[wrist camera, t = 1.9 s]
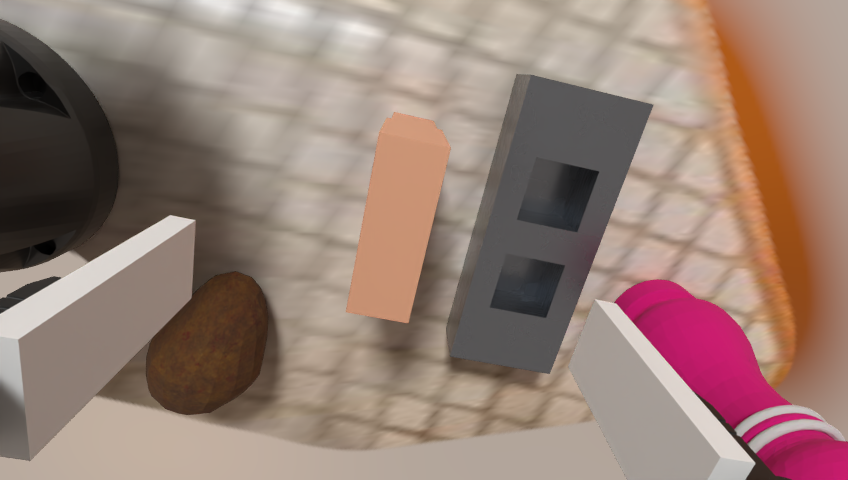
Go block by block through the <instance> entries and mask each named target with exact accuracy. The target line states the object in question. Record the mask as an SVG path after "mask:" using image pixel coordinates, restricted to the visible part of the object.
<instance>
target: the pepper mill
mask: <svg viewBox="0 0 848 480" xmlns="http://www.w3.org/2000/svg"><path fill="white" fill-rule="evenodd" d="M615 303H616V304H617V305H618V306H619V307H620V309H621V310H622V311H623V312H624V313H625V314H626V315H627V317H628V318H629V319H630V320H631V321H632V322H633V323H634V325H635V326H636V327H637V328H638V329H639V330H640V331H641V333H642V334H643V335H644V336H645V337H646V338H647V339H648V341H649V342H650V343H651V344H652V345H653V346H654V348H655V349H656V350H657V351H658V352H659V353H660V354H661V356H662V357H663V358H664V359H665V360H666V361H667V362H668V364H669V365H670V366H671V367H672V368H673V369H674V370H675V372H676V373H677V374H678V375H679V376H680V377H681V378H682V380H683V381H684V382H685V383H686V384H687V385H688V386H689V388H690V389H691V390H692V391H694V392H696V393H697V394H698V395H700V396H701V397H702V398H703V399H705V400H706V401H707V402H709V403H710V404H711V405H713V407H714V408H715V409H716V410H717V411H718V412H719V413H720V414H721V416H722V417H723V418H724V419H725V420H726V423H729V424H730V426H731V427H732V428H733V429H734V430H735V431H736V432H737V436H740V437H741V438H742V439H743V440H744V441H745V442H746V443H747V445H748V446H749V447H750V448H751V449H752V450H753V451H754V452H755V453H756V455H757V456H758V457H759V458H760V459H761V460H762V461H763V462H764V464H765V465H766V466H767V467H768V468H769V469H770V470H771V471H772V472H773V474H774V475H775V476H781V477H785V478H789V479H792V480H848V442H847V441H846V440H845V439H844V437H843V435H842V434H841V433H840V432H839V431H838V430H837V429H836V428H834V427H833V426H831V425H830V424H827V423H826V421H825V420H824V419H823V417H822V416H821V415H819V414H818V413H816V412H815V411H813V410H811V409H809V408H806V407H802V406H796V405H792V404H791V403H789V402H788V401H786V400H785V399H783V398H782V397H781V396H780V395H779V394H778V393H777V392H776V391H775V390H774V389H773V388H772V387H771V386H770V385H769V384H768V383H767V381H766V380H765V378H764V377H763V375H762V373H761V371H760V369H759V366H758V363H757V360H756V358H755V355H754V352H753V349H752V347H751V344H750V342H749V340H748V339H747V337H746V335H745V334H744V332H743V330H742V329H741V327H740V326H739V325H738V324H737V323H736V322H735V320H734V319H732V318H731V317H730V316H729V315H728V314H727V313H726V312H725V311H724V310H723V309H721V308H720V307H718V306H717V305H715V304H713V303H711V302H708V301H705V300H701V299H696V298H695V297H694V296H692V295H691V294H690V293H689V292H688V291H686V290H685V289H684V288H683V287H681V286H680V285H678V284H676V283H674V282H671V281H667V280H649V281H644V282H642V283H639V284H637V285H634V286H633V287H631V288H629V289H628V290H626V291H625V292H624V293H623V294H622V295H621V296H620V297H619V298H618V299H617V300H616V301H615Z"/></svg>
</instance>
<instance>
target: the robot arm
mask: <svg viewBox="0 0 848 480" xmlns="http://www.w3.org/2000/svg"><path fill="white" fill-rule="evenodd" d="M117 186H118V158H117V152H116V147H115V142H114V139H113V135H112V132H111V130H110V127H109V124H108V122H107V120H106V117H105V115H104V113H103V111H102V109H101V107H100V105H99V104H98V102H97V100H96V99H95V97H94V96H93V94H92V93H91V91H90V90H89V88H88V87H87V85H86V84H85V83H84V82H83V80H82V79H81V78H80V77H79V75H78V74H77V73H76V72H75V71H74V70H73V69H72V68H71V67H70V66H69V65H68V63H67V62H66V61H64V60H63V59H62V58H61V57H60V56H59V55H58V54H57V53H56V52H54V51H53V50H52V49H51V48H50V47H48V46H47V45H46V44H44V43H43V42H42V41H40V40H39V39H37V38H36V37H34V36H33V35H31V34H30V33H28V32H26V31H24V30H23V29H21V28H19V27H17V26H15V25H13V24H11V23H9V22H7V21H4V20H2V19H0V272H6V271H13V270H20V269H25V268H29V267H33V266H36V265H39V264H42V263H44V262H47V261H50V260H51V259H54V258H56V257H58V256H60V255H62V254H64V253H66V252H67V251H69V250H71V249H73V248H75V247H77V246H79V245H80V244H82V243H83V242H85V241H86V240H88V239H89V238H90V237H91V236H92V235H93V234H94V233H95V232H96V231H97V230H98V229H99V228H100V227H101V225H102V224H103V223H104V221H105V220H106V218H107V216H108V214H109V212H110V211H111V208H112V206H113V203H114V200H115V196H116V192H117ZM195 225H196V220H192V219H187V218H182V217H177V216H172V215H170V216H168V217H166V218H165V219H163V220H161V221H159V222H158V223H156V224H154V225H153V226H151V227H149V228H147V229H146V230H144V231H142V232H140V233H139V234H137V235H135V236H134V237H132V238H130V239H128V240H127V241H125V242H123V243H122V244H120V245H118V246H116V247H115V248H113V249H111V250H109V251H108V252H106V253H104V254H103V255H101V256H99V257H97V258H96V259H94V260H92V261H90V262H89V263H87V264H85V265H84V266H82V267H80V268H79V269H77V270H75V271H73V272H72V273H70V274H68V275H66V276H65V277H63V278H60V277H50V278H47V279H43V280H40V281H36V282H33V283H30V284H27V285H25V286H23V287H21V288H19V289H18V290H16V291H14V292H12V293H10V294H8V295H7V297H6V298H1V299H0V456H1V457H8V458H15V459H22V460H29V461H31V459H33V458H34V456H35V455H36V454H37V453H38V452H39V451H40V450H41V449H42V448H43V447H44V446H45V445H46V444H47V443H48V442H49V441H50V440H51V439H52V438H53V437H54V436H55V435H56V434H57V433H58V432H59V431H60V430H61V429H62V428H63V427H64V426H65V425H66V424H67V423H68V422H69V421H70V420H71V419H72V418H73V417H74V416H75V415H76V414H77V413H78V412H79V411H80V410H81V409H82V408H83V407H84V406H85V405H86V404H87V403H88V402H89V401H90V400H91V399H92V398H93V397H94V396H95V395H96V394H97V393H98V392H99V391H100V390H101V389H102V388H103V387H104V386H105V385H106V384H107V383H108V382H109V381H110V380H111V379H112V378H113V377H114V376H115V375H116V374H117V373H118V372H119V371H120V370H121V369H122V368H123V367H124V366H125V365H126V364H127V363H128V362H129V361H130V360H131V359H132V358H133V357H134V356H135V355H136V354H137V353H138V352H139V351H140V350H141V349H142V348H143V347H144V346H145V345H146V344H147V343H148V342H149V341H150V340H151V339H152V338H153V337H154V336H155V335H156V334H157V333H158V332H159V331H160V330H161V329H162V328H163V326H164V325H165V324H166V323H167V322H168V321H169V320H170V319H171V318H172V317H173V316H174V315H175V314H176V313H177V312H178V311H179V310H180V309H181V308H182V307H183V306H184V305H185V304H186V303H187V302H188V301H189V300H190V299H191V298H192V283H193V263H194V244H195ZM568 367H569V369H570V371H571V373H572V375H573V377H574V379H575V381H576V383H577V385H578V387H579V389H580V390H581V392H582V394H583V396H584V398H585V400H586V402H587V404H588V406H589V408H590V410H591V412H592V413H593V415H594V417H595V419H596V421H597V423H598V425H599V427H600V429H601V431H602V432H603V434H604V436H605V438H606V440H607V442H608V444H609V446H610V448H611V450H612V452H613V454H614V456H615V457H616V459H617V461H618V463H619V465H620V467H621V469H622V471H623V473H624V475H625V476H626V479H627V480H792V479H789V478H785V477H781V476H775V475H774V474H773V472H772V471H771V470H770V469H769V468H768V467H767V466H766V465H765V464H764V462H763V461H762V460H761V459H760V458H759V457H758V456H757V455H756V453H755V452H754V451H753V450H752V449H751V448H750V447H749V446H748V445H747V443H746V442H745V441H744V440H743V439H742V438H741V437H740V436H737V432H736V431H735V430H734V429H733V428H732V427H731V426H730V424H729V423H726V420H725V419H724V418H723V417H722V416H721V414H720V413H719V412H718V411H717V410H716V409H715V408H714V407H713V405H711V404H710V403H709V402H707V401H706V400H705V399H703V398H702V397H701V396H700V395H698V394H697V393H696V392H694V391H692V390H691V389H690V388H689V386H688V385H687V384H686V383H685V382H684V381H683V380H682V378H681V377H680V376H679V375H678V374H677V373H676V372H675V370H674V369H673V368H672V367H671V366H670V365H669V364H668V362H667V361H666V360H665V359H664V358H663V357H662V356H661V354H660V353H659V352H658V351H657V350H656V349H655V348H654V346H653V345H652V344H651V343H650V342H649V341H648V339H647V338H646V337H645V336H644V335H643V334H642V333H641V331H640V330H639V329H638V328H637V327H636V326H635V325H634V323H633V322H632V321H631V320H630V319H629V318H628V317H627V315H626V314H625V313H624V312H623V311H622V310H621V309H620V307H619V306H618V305H617V304H616V303H611V302H606V301H601V300H596V299H595V300H594V303H593V305H592V308H591V310H590V313H589V315H588V318H587V320H586V323H585V325H584V328H583V330H582V333H581V335H580V338H579V340H578V343H577V345H576V348H575V350H574V353H573V355H572V358H571V361H570V363H569V366H568Z"/></svg>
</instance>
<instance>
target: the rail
mask: <svg viewBox="0 0 848 480" xmlns="http://www.w3.org/2000/svg"><path fill="white" fill-rule="evenodd" d="M652 107H653V105H652V104H648V103H644V102H640V101H636V100H632V99H628V98H624V97H619V96H615V95H611V94H607V93H603V92H599V91H595V90H591V89H587V88H583V87H579V86H575V85H571V84H566V83H562V82H558V81H554V80H550V79H546V78H542V77H538V76H534V75H522V74H517V75H516V78H515V82H514V86H513V89H512V93H511V96H510V100H509V104H508V107H507V111H506V114H505V118H504V122H503V125H502V129H501V132H500V136H499V140H498V143H497V147H496V150H495V154H494V158H493V161H492V165H491V168H490V172H489V176H488V179H487V183H486V186H485V190H484V194H483V197H482V201H481V204H480V208H479V212H478V215H477V219H476V222H475V226H474V230H473V233H472V237H471V240H470V244H469V248H468V251H467V255H466V258H465V262H464V266H463V269H462V273H461V276H460V280H459V284H458V287H457V291H456V294H455V298H454V302H453V305H452V309H451V312H450V316H449V320H448V323H447V327H446V331H447V339H448V346H449V353H450V357H456V358H462V359H468V360H473V361H479V362H485V363H490V364H496V365H502V366H507V367H513V368H519V369H525V370H530V371H536V372H542V373H547V374H550V372H551V369H552V367H553V364H554V361H555V359H556V356H557V354H558V351H559V348H560V346H561V343H562V341H563V338H564V335H565V333H566V330H567V328H568V325H569V322H570V320H571V317H572V315H573V312H574V309H575V307H576V304H577V302H578V299H579V297H580V294H581V291H582V289H583V286H584V284H585V281H586V278H587V276H588V273H589V271H590V268H591V265H592V263H593V260H594V258H595V255H596V252H597V250H598V247H599V245H600V242H601V239H602V237H603V234H604V232H605V229H606V226H607V224H608V221H609V219H610V216H611V214H612V211H613V208H614V206H615V203H616V201H617V198H618V195H619V193H620V190H621V188H622V185H623V182H624V180H625V177H626V175H627V172H628V169H629V167H630V164H631V162H632V159H633V156H634V154H635V151H636V149H637V146H638V143H639V141H640V138H641V136H642V133H643V131H644V128H645V125H646V123H647V120H648V118H649V115H650V112H651V110H652Z"/></svg>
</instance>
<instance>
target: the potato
mask: <svg viewBox="0 0 848 480" xmlns="http://www.w3.org/2000/svg"><path fill="white" fill-rule="evenodd" d="M267 330H268V312H267V307H266V302H265V299H264V296H263V293H262V291H261V288H260V287H259V285H258V284H257V283H256V282H255V281H254V279H253V278H252V277H249V276H247V275H244V274H242V273H239V272H236V271H234V272H230V273H225V274H220V275H215V276H214V277H213V278H212V279H210V280H209V281H208V282H207V283H205V284H204V285H203V286H202V287H200V288H199V289H198V290H197V291H196V292H195V293H194V294H193V295H192V298H191V299H190V300H189V301H188V302H187V303H186V304H185V305H184V306H183V307H182V308H181V309H180V310H179V311H178V312H177V313H176V314H175V315H174V316H173V317H172V318H171V319H170V320H169V321H168V322H167V323H166V324H165V325H164V326H163V328H162V329H161V330H160V331H159V332H158V333H157V334H156V335H155V336H154V337H153V338H152V340H151V343H150V346H149V349H148V353H147V357H146V377H147V383H148V388H149V391H150V393H151V395H152V397H153V398H154V399H156V400H157V401H158V402H159V403H160V404H161V405H162V406H163V407H164V408H165V409H167V410H170V411H173V412H176V413H179V414H185V415H193V414H202V413H210V412H212V411H214V410H215V409H217V408H219V407H221V406H222V405H224V404H226V403H228V402H229V401H231V400H233V399H234V398H236V397H237V396H239V395H240V394H241V393H243V392H244V391H245V390H246V389H247V388H248V387H249V386H250V385H251V384H252V383H253V382H254V381H255V379H256V378H257V377H258V375H259V374H260V369H261V365H262V360H263V356H264V351H265V346H266V340H267Z"/></svg>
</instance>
